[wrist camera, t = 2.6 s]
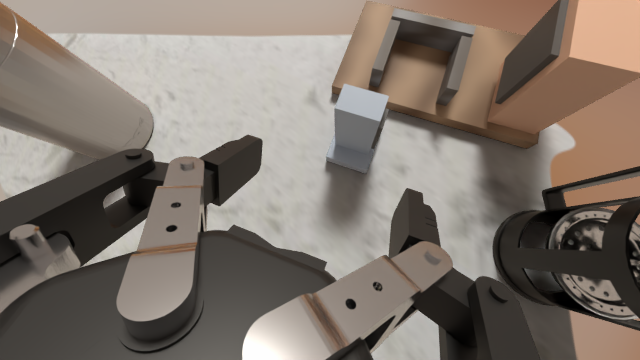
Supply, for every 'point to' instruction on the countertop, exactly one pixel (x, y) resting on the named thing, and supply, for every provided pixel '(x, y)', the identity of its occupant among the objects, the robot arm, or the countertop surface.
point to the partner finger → (568, 63)
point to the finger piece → (357, 127)
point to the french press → (579, 253)
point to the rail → (431, 68)
